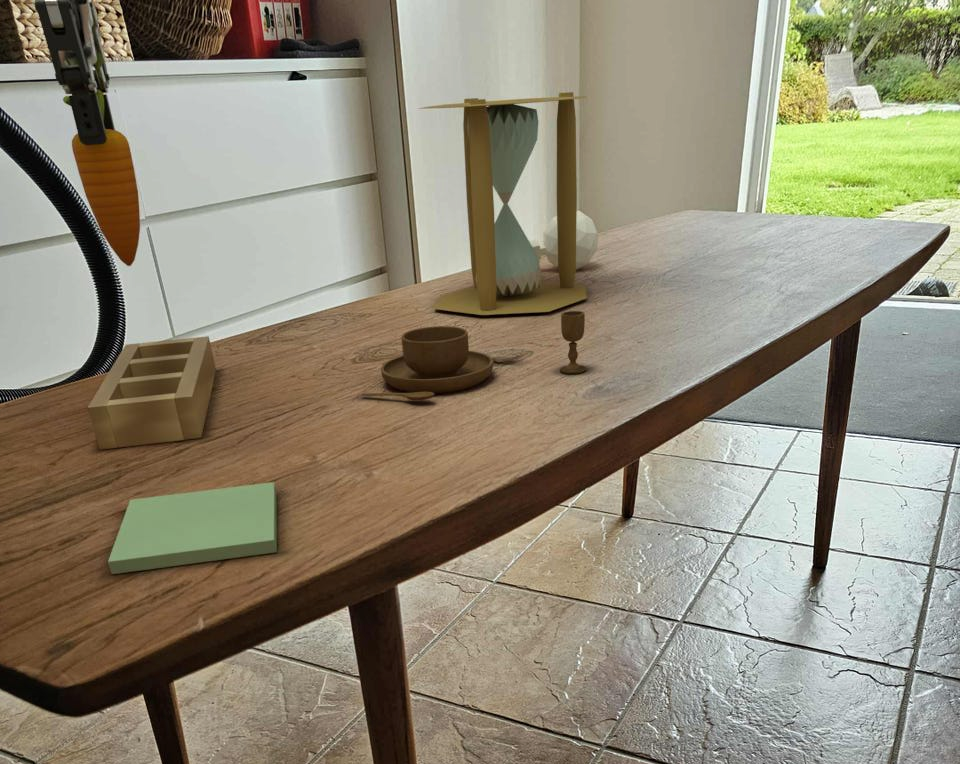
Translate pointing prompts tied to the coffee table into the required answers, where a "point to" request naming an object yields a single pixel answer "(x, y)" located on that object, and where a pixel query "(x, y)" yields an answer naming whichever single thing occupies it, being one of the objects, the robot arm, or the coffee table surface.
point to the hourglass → (502, 244)
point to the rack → (154, 394)
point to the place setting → (456, 360)
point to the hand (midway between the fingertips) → (99, 142)
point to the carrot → (111, 188)
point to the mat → (196, 528)
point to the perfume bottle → (584, 241)
